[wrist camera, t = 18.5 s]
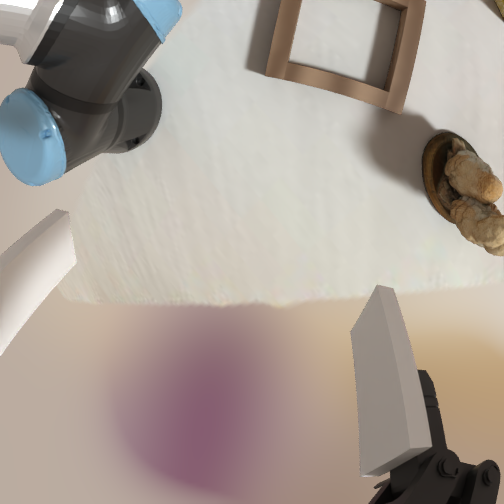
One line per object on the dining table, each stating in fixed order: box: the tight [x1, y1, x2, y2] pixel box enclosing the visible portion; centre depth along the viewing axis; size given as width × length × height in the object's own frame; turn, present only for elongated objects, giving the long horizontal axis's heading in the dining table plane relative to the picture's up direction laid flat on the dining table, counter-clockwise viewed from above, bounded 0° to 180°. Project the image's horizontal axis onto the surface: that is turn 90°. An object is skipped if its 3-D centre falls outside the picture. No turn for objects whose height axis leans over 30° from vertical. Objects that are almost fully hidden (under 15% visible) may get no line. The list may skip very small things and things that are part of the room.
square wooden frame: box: [265, 0, 426, 115], centre depth 30 cm, size 19×19×3 cm
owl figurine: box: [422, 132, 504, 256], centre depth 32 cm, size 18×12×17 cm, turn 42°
